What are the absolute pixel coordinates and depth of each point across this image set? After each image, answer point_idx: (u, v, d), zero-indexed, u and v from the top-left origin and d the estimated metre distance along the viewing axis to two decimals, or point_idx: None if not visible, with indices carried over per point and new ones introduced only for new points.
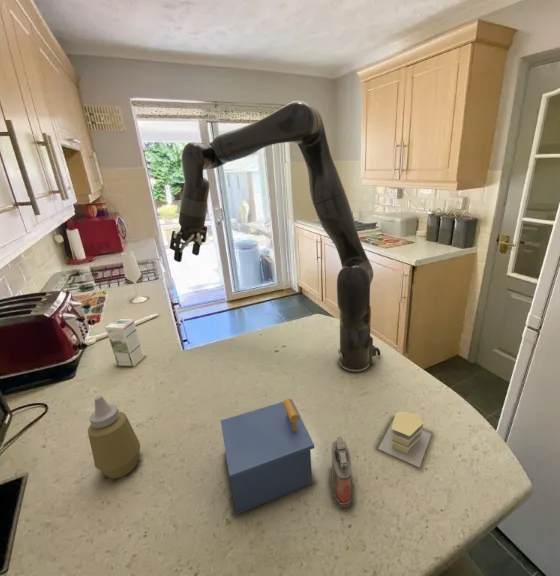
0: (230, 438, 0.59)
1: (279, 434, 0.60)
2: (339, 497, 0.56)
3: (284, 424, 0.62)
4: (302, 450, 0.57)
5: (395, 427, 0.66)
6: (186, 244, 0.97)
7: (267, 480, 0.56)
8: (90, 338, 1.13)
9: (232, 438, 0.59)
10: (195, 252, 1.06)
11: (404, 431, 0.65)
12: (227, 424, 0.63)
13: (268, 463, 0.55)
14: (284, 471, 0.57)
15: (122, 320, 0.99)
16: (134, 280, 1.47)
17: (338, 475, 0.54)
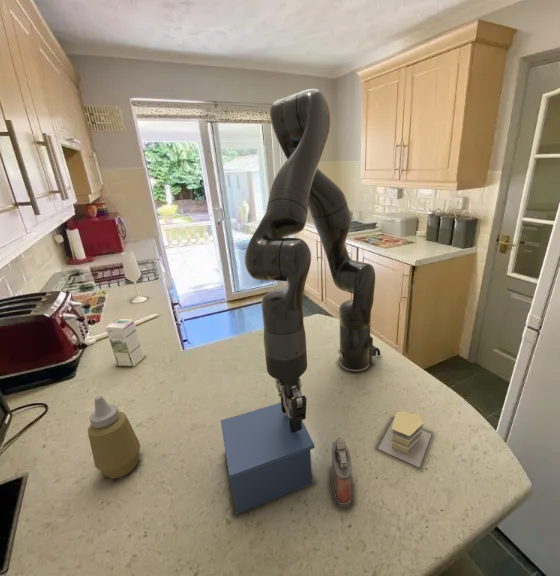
0: (230, 438, 0.59)
1: (279, 434, 0.60)
2: (339, 497, 0.56)
3: (284, 424, 0.62)
4: (302, 450, 0.57)
5: (395, 427, 0.66)
6: None
7: (267, 480, 0.56)
8: (90, 338, 1.13)
9: (232, 438, 0.59)
10: None
11: (404, 431, 0.65)
12: (227, 424, 0.63)
13: (268, 463, 0.55)
14: (284, 471, 0.57)
15: (122, 320, 0.99)
16: (134, 280, 1.47)
17: (338, 475, 0.54)
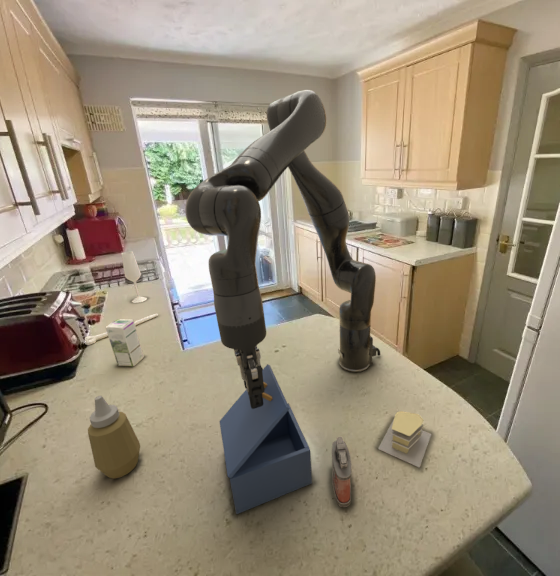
0: (226, 436, 0.59)
1: (260, 411, 0.56)
2: (339, 497, 0.56)
3: (263, 397, 0.58)
4: (279, 418, 0.52)
5: (395, 427, 0.66)
6: None
7: (267, 480, 0.56)
8: (90, 338, 1.13)
9: (227, 435, 0.59)
10: None
11: (404, 431, 0.65)
12: (224, 422, 0.62)
13: (255, 447, 0.52)
14: (284, 471, 0.57)
15: (122, 320, 0.99)
16: (134, 280, 1.47)
17: (338, 475, 0.54)
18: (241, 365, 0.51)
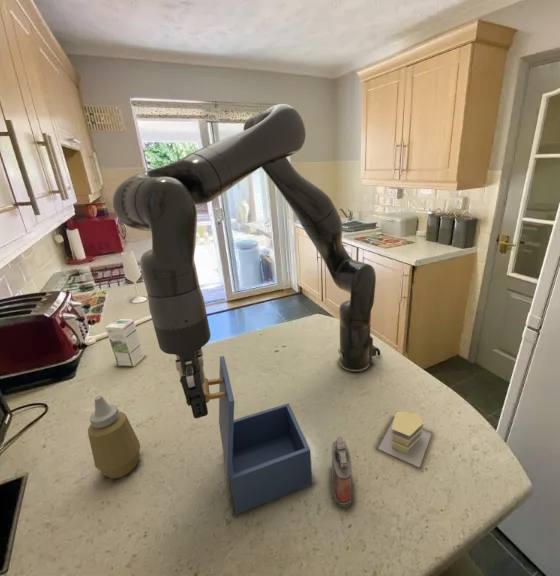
0: None
1: (224, 408, 0.53)
2: (339, 497, 0.56)
3: None
4: (230, 413, 0.48)
5: (395, 427, 0.66)
6: (204, 378, 0.49)
7: (267, 480, 0.56)
8: (90, 338, 1.13)
9: None
10: None
11: (404, 431, 0.65)
12: (219, 423, 0.62)
13: (230, 446, 0.50)
14: (284, 471, 0.57)
15: (122, 320, 0.99)
16: (134, 280, 1.47)
17: (338, 475, 0.54)
18: (181, 371, 0.48)
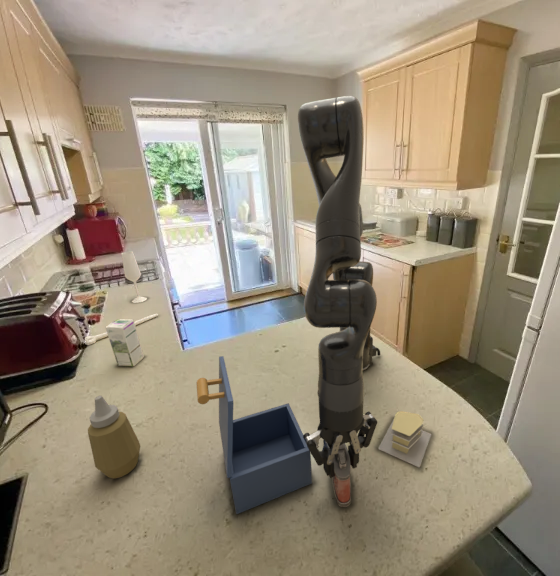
0: (221, 437, 0.58)
1: (224, 408, 0.53)
2: (339, 497, 0.56)
3: None
4: (230, 413, 0.48)
5: (395, 427, 0.66)
6: (333, 453, 0.53)
7: (267, 480, 0.56)
8: (90, 338, 1.13)
9: (221, 436, 0.58)
10: (351, 463, 0.58)
11: (404, 431, 0.65)
12: (219, 423, 0.62)
13: (230, 446, 0.50)
14: (284, 471, 0.57)
15: (122, 320, 0.99)
16: (134, 280, 1.47)
17: (337, 475, 0.54)
18: None
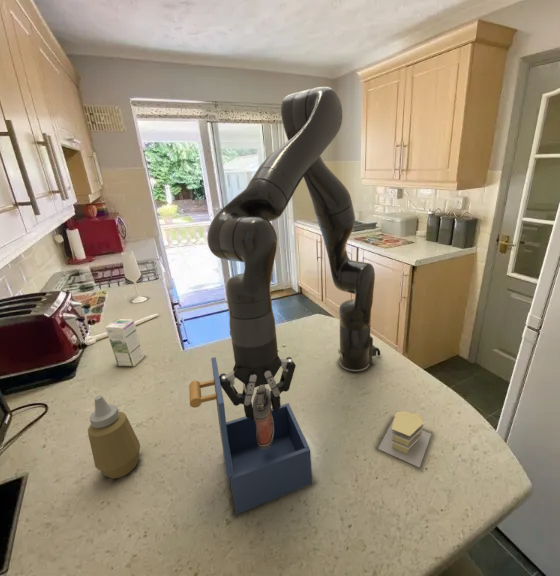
0: None
1: (218, 410, 0.53)
2: (258, 439, 0.57)
3: None
4: (222, 415, 0.48)
5: (395, 427, 0.66)
6: (249, 393, 0.54)
7: (267, 480, 0.56)
8: (90, 338, 1.13)
9: None
10: (273, 407, 0.59)
11: (404, 431, 0.65)
12: None
13: (226, 447, 0.50)
14: (284, 471, 0.57)
15: (122, 320, 0.99)
16: (134, 280, 1.47)
17: (254, 416, 0.55)
18: None
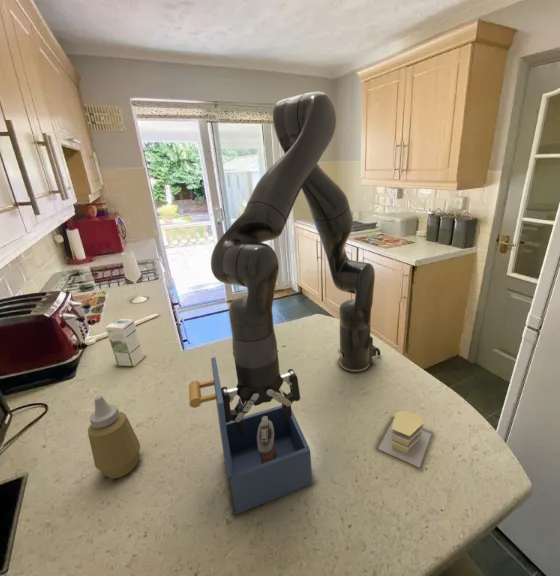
0: None
1: None
2: None
3: None
4: (221, 415, 0.48)
5: (395, 427, 0.66)
6: (245, 410, 0.55)
7: (267, 480, 0.56)
8: (90, 338, 1.13)
9: None
10: (284, 416, 0.61)
11: (404, 431, 0.65)
12: None
13: (226, 447, 0.50)
14: (284, 471, 0.57)
15: (122, 320, 0.99)
16: (134, 280, 1.47)
17: (259, 450, 0.58)
18: None
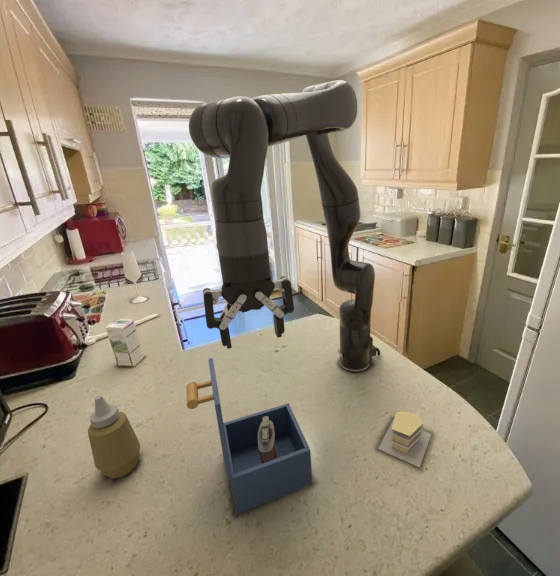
0: None
1: None
2: None
3: None
4: (218, 416, 0.48)
5: (395, 427, 0.66)
6: (230, 314, 0.48)
7: (267, 480, 0.56)
8: (90, 338, 1.13)
9: None
10: (276, 332, 0.54)
11: (404, 431, 0.65)
12: None
13: (225, 447, 0.50)
14: (284, 471, 0.57)
15: (122, 320, 0.99)
16: (134, 280, 1.47)
17: (260, 450, 0.58)
18: None
